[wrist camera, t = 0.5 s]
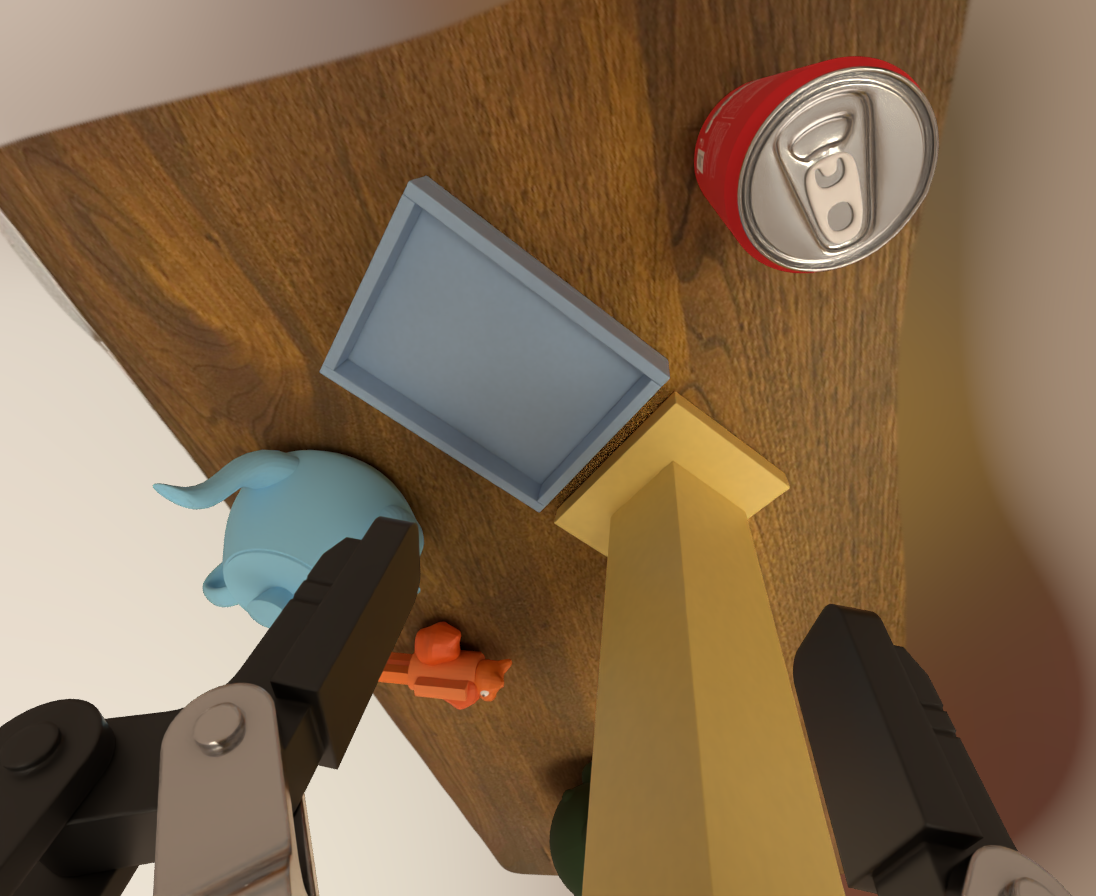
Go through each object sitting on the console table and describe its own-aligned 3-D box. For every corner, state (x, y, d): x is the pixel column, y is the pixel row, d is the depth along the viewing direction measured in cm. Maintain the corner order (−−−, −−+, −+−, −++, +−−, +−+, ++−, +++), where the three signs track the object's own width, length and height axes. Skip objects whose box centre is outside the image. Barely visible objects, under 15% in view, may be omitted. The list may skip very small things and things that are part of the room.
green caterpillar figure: (636, 827, 65) (655, 739, 49) (633, 1058, 50) (659, 1038, 35) (561, 814, 66) (557, 726, 51) (537, 1037, 51) (521, 1008, 36)
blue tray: (426, 174, 26) (408, 180, 24) (668, 359, 29) (670, 378, 27) (338, 356, 32) (318, 372, 30) (545, 490, 36) (539, 513, 34)
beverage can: (796, 51, 21) (933, -1, 11) (827, 177, 23) (964, 227, 13) (675, 122, 23) (700, 130, 13) (713, 232, 25) (760, 311, 15)
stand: (680, 373, 29) (1023, 2685, 3) (803, 467, 32) (1644, 2314, 5) (542, 513, 37) (288, 1552, 10) (650, 582, 39) (670, 1592, 12)
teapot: (240, 523, 42) (139, 628, 34) (270, 382, 34) (147, 473, 26) (404, 598, 44) (348, 714, 36) (470, 482, 36) (417, 597, 28)
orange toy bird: (366, 712, 44) (503, 727, 42) (357, 634, 42) (499, 647, 40) (393, 673, 49) (516, 685, 47) (385, 602, 47) (513, 612, 45)
